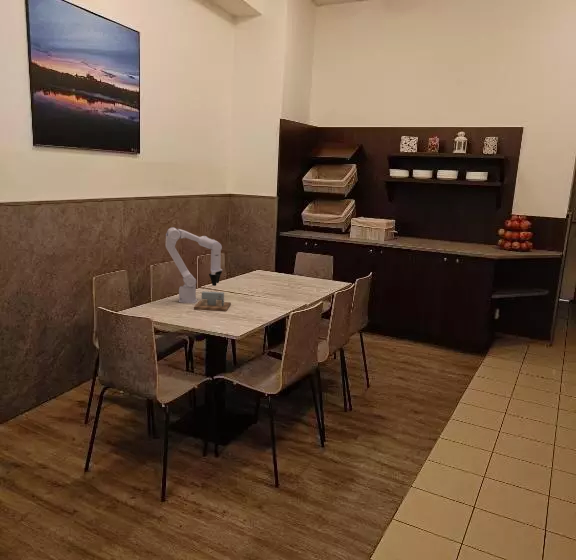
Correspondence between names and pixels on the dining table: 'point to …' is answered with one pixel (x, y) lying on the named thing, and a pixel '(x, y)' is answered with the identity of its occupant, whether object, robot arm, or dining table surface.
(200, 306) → the cabinet base
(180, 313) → the dining table surface
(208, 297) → the grey block
